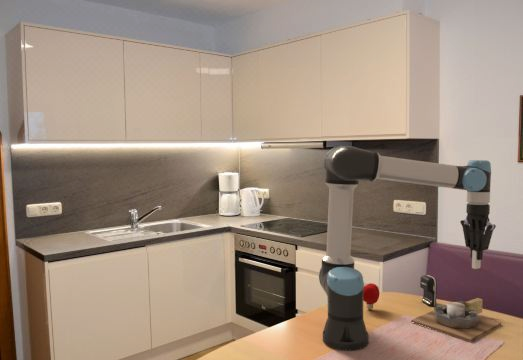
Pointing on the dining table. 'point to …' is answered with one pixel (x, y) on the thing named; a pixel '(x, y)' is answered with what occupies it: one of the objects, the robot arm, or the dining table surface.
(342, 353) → the dining table surface
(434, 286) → the battery charger
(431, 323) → the mount plate
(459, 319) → the ring nut
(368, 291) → the light bulb
